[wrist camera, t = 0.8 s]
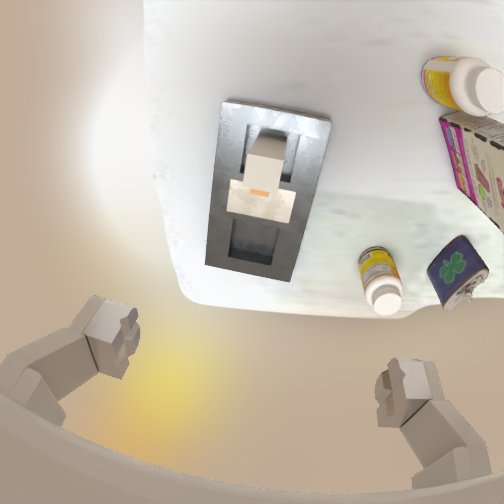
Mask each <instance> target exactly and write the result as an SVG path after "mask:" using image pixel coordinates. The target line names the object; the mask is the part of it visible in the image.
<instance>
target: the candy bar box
mask: <svg viewBox="0 0 504 504" xmlns="http://www.w3.org/2000/svg"><path fill="white" fill-rule="evenodd" d="M439 121H440V124H441V127H442V130H443V133H444V136H445V140H446V143H447V147H448V150H449V154H450V158H451V162H452V166H453V170H454V174H455V179H456V183H457V188H458V189H459V190H460V191H461V192H463V193H464V194H465V195H466V196H467V197H468V198H469V199H470V200H471V201H472V202H473V203H474V204H475V205H476V206H477V207H478V208H479V209H480V210H481V211H482V212H483V213H484V214H485V215H486V216H487V217H488V218H489V219H490V220H491V221H492V222H493V223H494V224H495V225H496V226H497V227H498V228H499V229H500V230H501V232H502V233H503V234H504V124H503V123H500V122H497V121H495V120H493V119H490V118H487V117H485V116H482V117H477V116H472V115H470V114H467V113H465V112H462V111H458V112H456V113H453V114H449V115H446V116H443V117H440V118H439Z"/></svg>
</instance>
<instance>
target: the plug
mask: <svg viewBox="0 0 504 504" xmlns="http://www.w3.org/2000/svg"><path fill="white" fill-rule="evenodd" d="M286 144H287V138H282V137H277V136H272V135H266V134H261V133H259V134H258V136H257V138H256V140H255V141H254V143H253V145H252V147H251V148H250V150H249V152H248V154H247V159H246V166H245V172H244V179H243V185H242V187H245V188H250V193H249V194H254V195H259V196H264V197H269V192H270V193H275V194H277V192H278V187H279V182H280V177H281V172H282V167H283V162H284V157H285V150H286Z"/></svg>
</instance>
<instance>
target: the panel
mask: <svg viewBox="0 0 504 504" xmlns="http://www.w3.org/2000/svg"><path fill="white" fill-rule="evenodd" d="M331 125H332V122H331V121H330V119H328V118H324V117H319V116H315V115H311V114H306V113H302V112H297V111H292V110H287V109H282V108H277V107H272V106H266V105H260V104H254V103H248V102H242V101H235V100H226V101H224V102H222V109H221V117H220V124H219V132H218V140H217V148H216V157H215V165H214V174H213V183H212V193H211V203H210V213H209V223H208V234H207V246H206V257H205V265H209V266H213V267H218V268H223V269H227V270H232V271H237V272H242V273H246V274H251V275H256V276H261V277H266V278H271V279H275V280H280V281H285V282H290V280H291V276H292V273H293V269H294V266H295V262H296V259H297V255H298V252H299V248H300V245H301V241H302V238H303V234H304V230H305V227H306V223H307V219H308V216H309V212H310V208H311V204H312V201H313V197H314V193H315V189H316V185H317V181H318V178H319V174H320V170H321V166H322V162H323V158H324V154H325V150H326V145H327V141H328V137H329V133H330V129H331ZM259 133H261V134H266V135H272V136H277V137H282V138H287V144H286V150H285V157H284V162H283V167H282V172H281V177H280V182H279V187H278V192H277V194H275V193H270V192H269V197H264V196H259V195H254V194H249V193H250V188H245V187H242V185H243V179H244V172H245V166H246V159H247V154H248V152H249V150H250V148H251V147H252V145H253V143H254V141H255V140H256V138H257V136H258V134H259Z"/></svg>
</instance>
